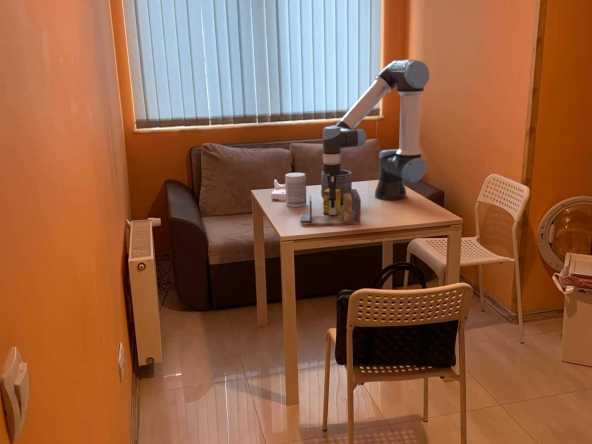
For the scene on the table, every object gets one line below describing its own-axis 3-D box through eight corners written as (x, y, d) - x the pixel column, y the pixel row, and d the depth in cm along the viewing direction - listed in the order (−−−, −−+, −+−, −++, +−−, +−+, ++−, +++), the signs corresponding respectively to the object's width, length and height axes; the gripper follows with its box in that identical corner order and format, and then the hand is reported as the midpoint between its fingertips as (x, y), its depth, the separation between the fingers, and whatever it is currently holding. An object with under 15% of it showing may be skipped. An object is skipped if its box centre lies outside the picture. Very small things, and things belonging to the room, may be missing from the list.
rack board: (358, 217, 255) (358, 188, 251) (360, 225, 245) (360, 194, 241) (302, 218, 256) (302, 189, 252) (302, 226, 245) (301, 195, 241)
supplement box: (323, 215, 260) (322, 191, 257) (328, 211, 265) (327, 188, 262) (335, 216, 258) (335, 192, 255) (340, 213, 263) (340, 189, 260)
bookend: (311, 216, 254) (311, 195, 251) (311, 221, 246) (311, 200, 243) (300, 216, 254) (300, 196, 251) (300, 221, 246) (299, 201, 244)
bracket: (275, 194, 299) (274, 179, 297) (289, 194, 298) (288, 179, 296) (271, 200, 287) (271, 185, 284) (286, 200, 286) (285, 185, 284)
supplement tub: (310, 205, 276) (309, 174, 272) (293, 209, 271) (292, 177, 267) (298, 201, 284) (298, 171, 279) (282, 204, 279) (281, 174, 274)
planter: (323, 199, 287) (323, 168, 283) (353, 200, 284) (353, 169, 280) (319, 206, 274) (318, 175, 269) (349, 207, 271) (349, 176, 266)
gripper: (322, 157, 267) (322, 202, 273) (324, 169, 243) (324, 218, 249) (338, 157, 267) (338, 202, 273) (342, 168, 243) (342, 218, 249)
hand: (331, 210), depth 261 cm, fingers open, 13 cm apart
